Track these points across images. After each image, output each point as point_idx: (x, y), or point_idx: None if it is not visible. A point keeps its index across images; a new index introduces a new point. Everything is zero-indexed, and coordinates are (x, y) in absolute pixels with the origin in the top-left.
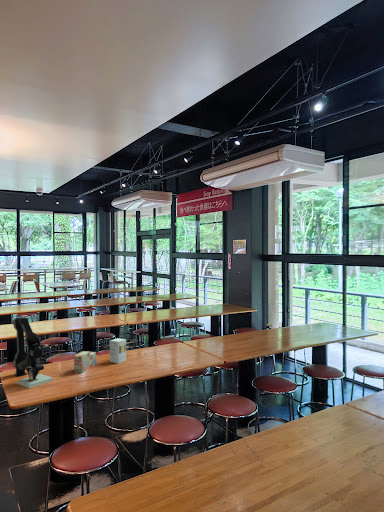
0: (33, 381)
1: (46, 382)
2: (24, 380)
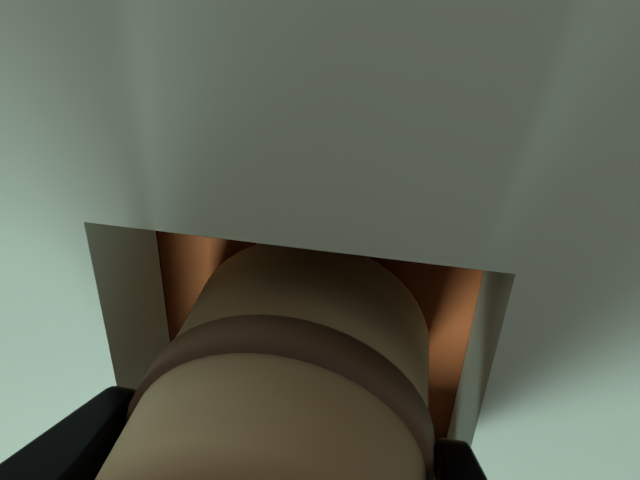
0: (75, 320)
1: None
2: (588, 233)
